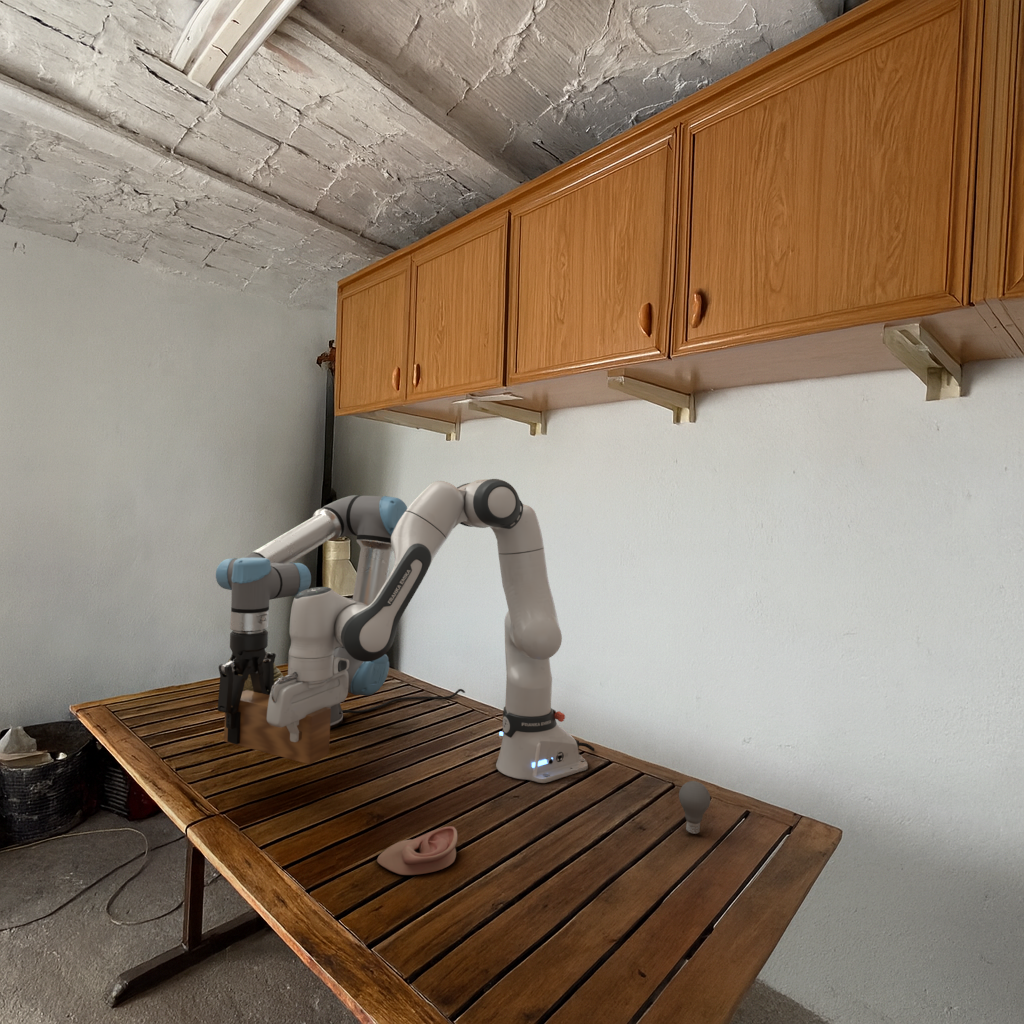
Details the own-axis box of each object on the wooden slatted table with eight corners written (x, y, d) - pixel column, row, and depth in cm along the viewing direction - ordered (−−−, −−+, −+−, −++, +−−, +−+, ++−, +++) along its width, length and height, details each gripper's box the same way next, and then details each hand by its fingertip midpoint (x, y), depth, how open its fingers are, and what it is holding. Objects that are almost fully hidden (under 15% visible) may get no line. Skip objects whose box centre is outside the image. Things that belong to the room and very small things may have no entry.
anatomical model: (370, 846, 108) (395, 814, 119) (369, 869, 108) (395, 835, 119) (444, 859, 105) (463, 825, 117) (443, 882, 106) (462, 846, 117)
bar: (223, 741, 135) (225, 696, 135) (245, 732, 140) (246, 689, 140) (309, 764, 125) (311, 716, 125) (329, 754, 131) (330, 708, 130)
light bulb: (673, 824, 128) (675, 775, 128) (701, 824, 129) (704, 775, 129) (683, 840, 122) (685, 789, 122) (713, 840, 123) (716, 789, 123)
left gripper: (226, 640, 126) (222, 756, 126) (294, 625, 143) (290, 727, 143) (199, 635, 129) (195, 748, 129) (269, 621, 146) (265, 721, 146)
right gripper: (285, 682, 118) (282, 756, 118) (354, 659, 137) (352, 722, 137) (260, 677, 121) (257, 749, 121) (331, 655, 139) (328, 717, 140)
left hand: (245, 737), depth 136 cm, fingers closed on bar, 6 cm apart
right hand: (308, 734), depth 129 cm, fingers closed on bar, 6 cm apart
